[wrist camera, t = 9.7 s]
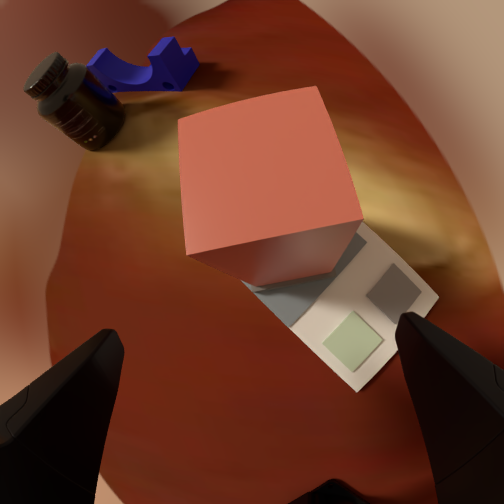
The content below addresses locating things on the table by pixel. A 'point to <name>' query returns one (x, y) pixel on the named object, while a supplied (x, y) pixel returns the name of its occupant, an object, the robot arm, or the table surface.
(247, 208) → the salmon block on plinth
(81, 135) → the supplement bottle
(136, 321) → the table surface
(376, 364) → the panel board
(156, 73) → the blue cradle bracket
